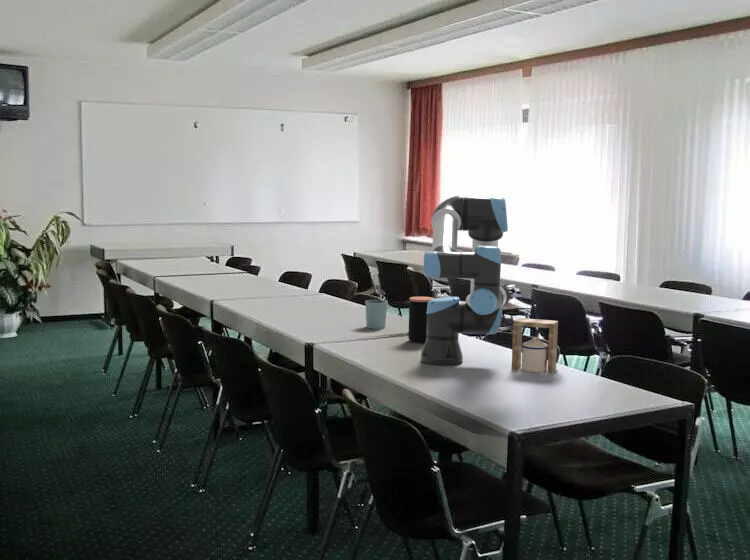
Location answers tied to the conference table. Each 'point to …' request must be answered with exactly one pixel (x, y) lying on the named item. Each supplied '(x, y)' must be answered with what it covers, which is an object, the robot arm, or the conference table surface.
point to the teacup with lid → (534, 356)
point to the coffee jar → (418, 318)
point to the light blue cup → (376, 313)
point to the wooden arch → (518, 340)
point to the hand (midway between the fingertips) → (513, 288)
